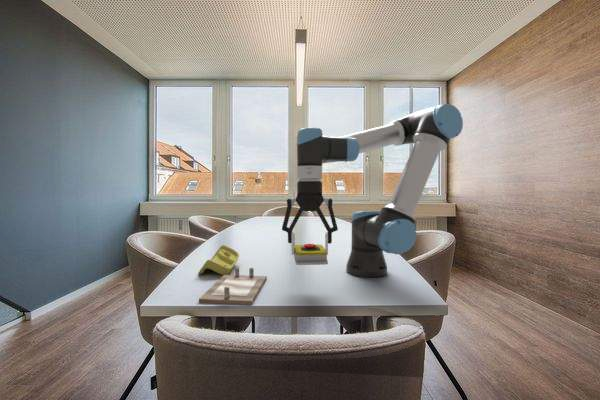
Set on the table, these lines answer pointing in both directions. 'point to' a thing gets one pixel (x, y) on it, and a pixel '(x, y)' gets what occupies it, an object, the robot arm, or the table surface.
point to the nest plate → (235, 289)
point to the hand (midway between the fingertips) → (309, 253)
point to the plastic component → (222, 261)
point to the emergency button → (310, 255)
